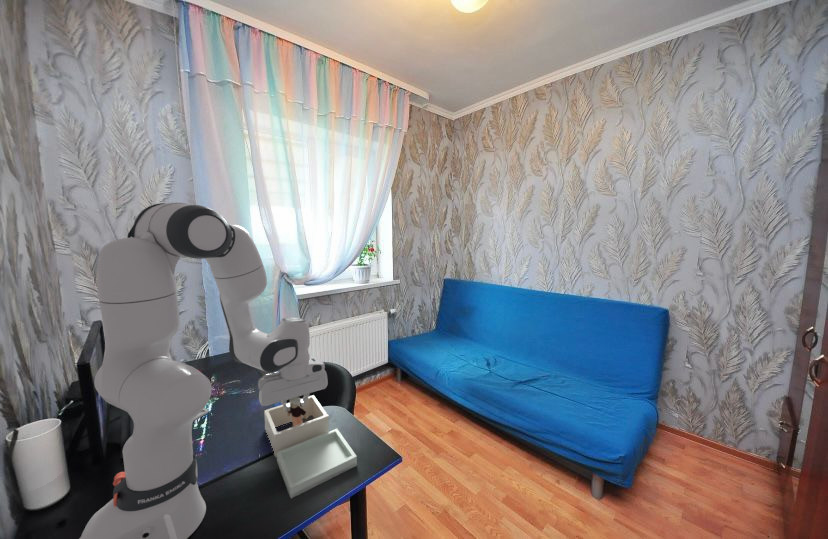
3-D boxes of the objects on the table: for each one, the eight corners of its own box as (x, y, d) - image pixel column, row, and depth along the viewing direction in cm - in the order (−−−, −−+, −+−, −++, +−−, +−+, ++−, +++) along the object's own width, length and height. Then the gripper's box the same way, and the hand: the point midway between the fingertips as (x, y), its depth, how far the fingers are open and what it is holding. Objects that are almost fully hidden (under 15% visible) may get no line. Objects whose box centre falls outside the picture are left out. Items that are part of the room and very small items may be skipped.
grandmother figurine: (285, 435, 96) (279, 400, 93) (291, 426, 99) (285, 393, 97) (307, 436, 95) (302, 401, 92) (313, 427, 98) (308, 393, 96)
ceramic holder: (275, 457, 86) (274, 435, 85) (265, 430, 97) (264, 410, 96) (328, 435, 96) (328, 415, 95) (313, 412, 107) (313, 394, 106)
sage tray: (290, 498, 74) (290, 488, 73) (276, 461, 85) (276, 452, 84) (356, 465, 85) (356, 456, 84) (337, 436, 96) (337, 428, 95)
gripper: (260, 381, 84) (261, 425, 86) (329, 363, 97) (329, 403, 99) (255, 371, 89) (257, 414, 91) (322, 356, 102) (322, 394, 104)
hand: (295, 408), depth 95 cm, fingers open, 3 cm apart
